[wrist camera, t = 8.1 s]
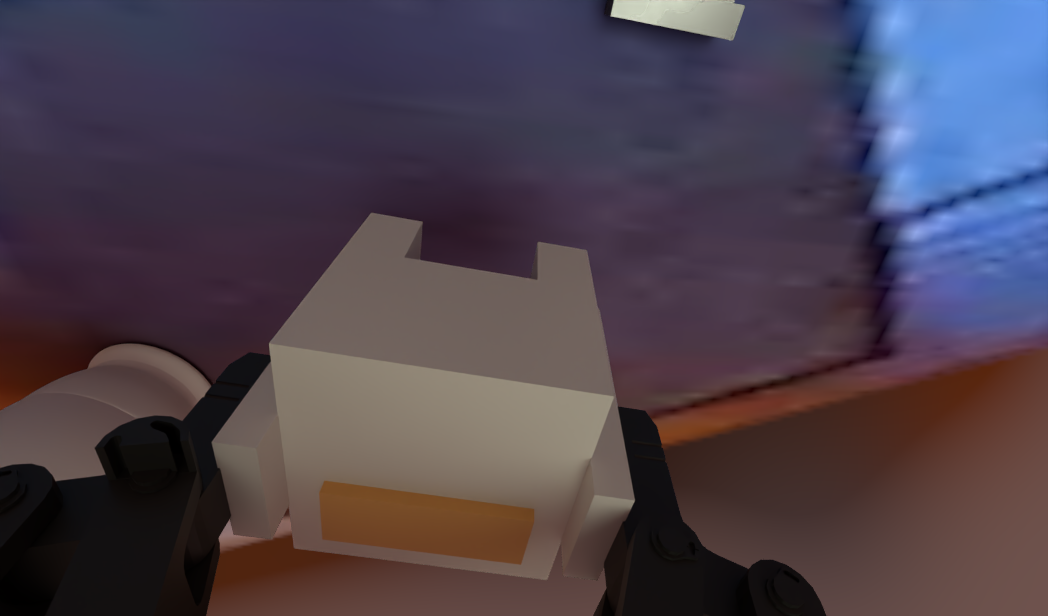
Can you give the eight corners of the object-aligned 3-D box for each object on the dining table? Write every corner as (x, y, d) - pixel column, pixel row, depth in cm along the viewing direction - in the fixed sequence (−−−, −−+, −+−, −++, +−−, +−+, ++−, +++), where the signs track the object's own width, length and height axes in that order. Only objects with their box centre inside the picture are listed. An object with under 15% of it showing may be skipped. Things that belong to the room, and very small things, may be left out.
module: (369, 379, 17) (288, 560, 11) (371, 212, 13) (260, 354, 8) (544, 405, 17) (547, 592, 12) (586, 250, 14) (616, 408, 9)
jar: (73, 303, 30) (-261, 524, 18) (245, 360, 32) (54, 594, 20) (80, 417, 36) (-173, 648, 23) (227, 459, 38) (69, 694, 25)
